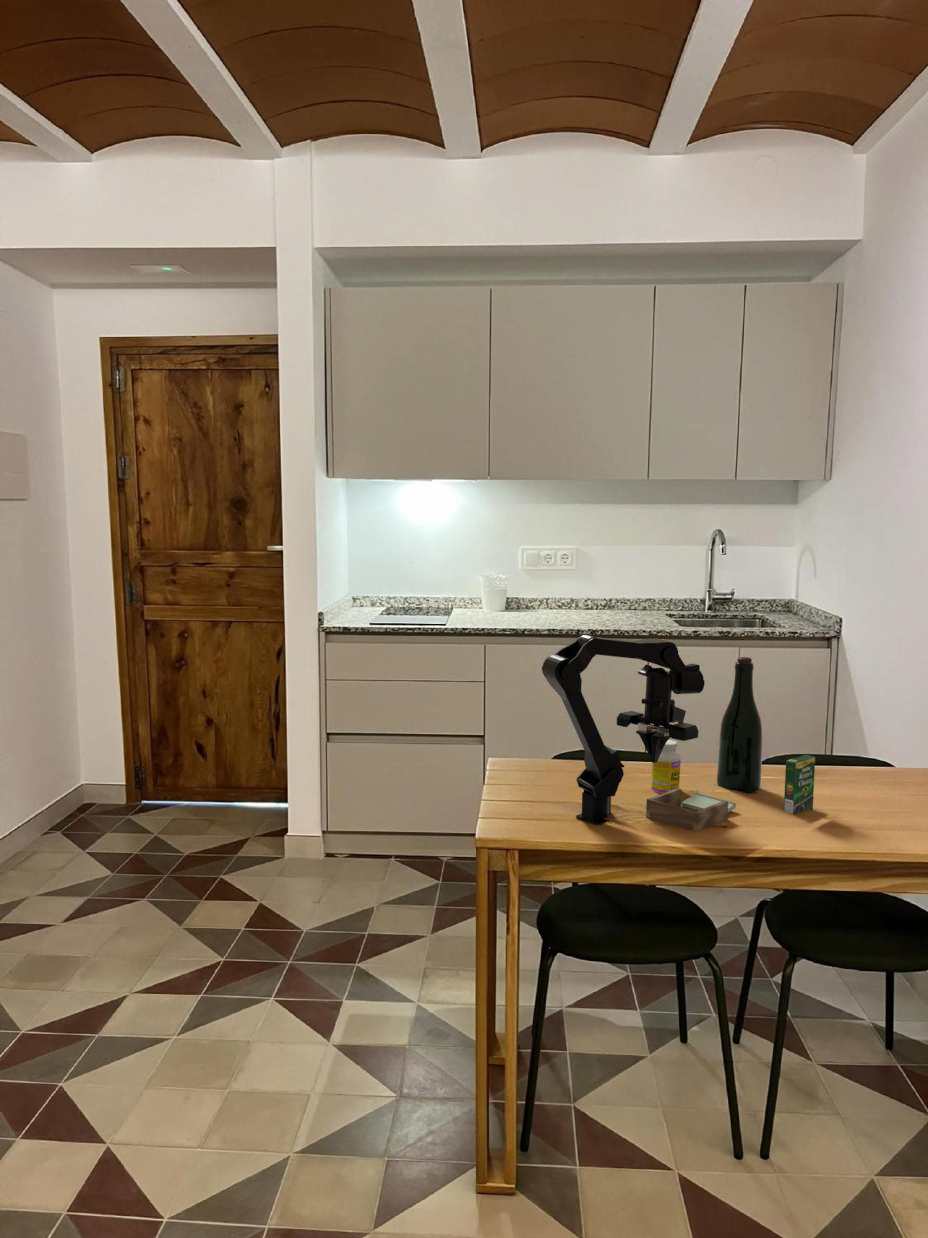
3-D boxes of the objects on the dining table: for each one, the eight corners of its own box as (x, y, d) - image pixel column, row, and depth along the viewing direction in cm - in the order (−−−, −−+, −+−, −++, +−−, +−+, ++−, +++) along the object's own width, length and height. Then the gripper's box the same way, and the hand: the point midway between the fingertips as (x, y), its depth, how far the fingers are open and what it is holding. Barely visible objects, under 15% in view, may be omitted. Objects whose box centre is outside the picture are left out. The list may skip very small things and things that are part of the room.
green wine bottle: (755, 797, 219) (762, 662, 214) (711, 790, 224) (717, 658, 220) (764, 786, 228) (771, 656, 224) (722, 779, 233) (727, 652, 229)
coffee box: (793, 819, 204) (796, 762, 202) (781, 815, 206) (784, 759, 204) (813, 812, 208) (816, 756, 207) (802, 809, 211) (805, 753, 209)
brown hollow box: (697, 836, 192) (698, 814, 191) (645, 821, 201) (646, 799, 201) (727, 823, 200) (728, 801, 200) (676, 809, 210) (677, 788, 209)
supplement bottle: (671, 799, 216) (673, 747, 215) (646, 794, 220) (648, 742, 219) (683, 792, 222) (685, 741, 220) (658, 787, 226) (660, 737, 224)
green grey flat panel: (721, 813, 201) (735, 803, 205) (681, 802, 208) (696, 792, 212) (721, 817, 201) (735, 807, 205) (682, 806, 208) (696, 797, 212)
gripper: (714, 698, 203) (709, 766, 205) (645, 684, 217) (641, 748, 219) (685, 703, 196) (681, 774, 198) (616, 689, 209) (613, 755, 211)
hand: (654, 762), depth 206 cm, fingers closed
